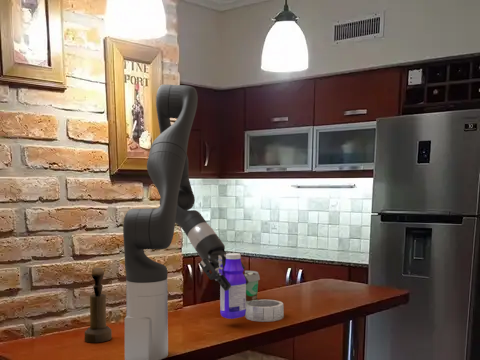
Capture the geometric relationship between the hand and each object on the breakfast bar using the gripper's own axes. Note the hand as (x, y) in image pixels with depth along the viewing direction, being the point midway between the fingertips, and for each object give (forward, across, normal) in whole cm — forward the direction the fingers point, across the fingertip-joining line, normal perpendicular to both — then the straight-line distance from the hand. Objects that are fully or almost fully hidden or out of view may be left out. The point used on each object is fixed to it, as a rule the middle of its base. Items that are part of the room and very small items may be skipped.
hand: (237, 286), depth 140 cm
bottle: (+5, 0, +7) cm, 9 cm away
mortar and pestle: (-7, -31, +23) cm, 39 cm away
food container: (-3, +26, +19) cm, 32 cm away
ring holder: (+8, +13, +8) cm, 17 cm away
